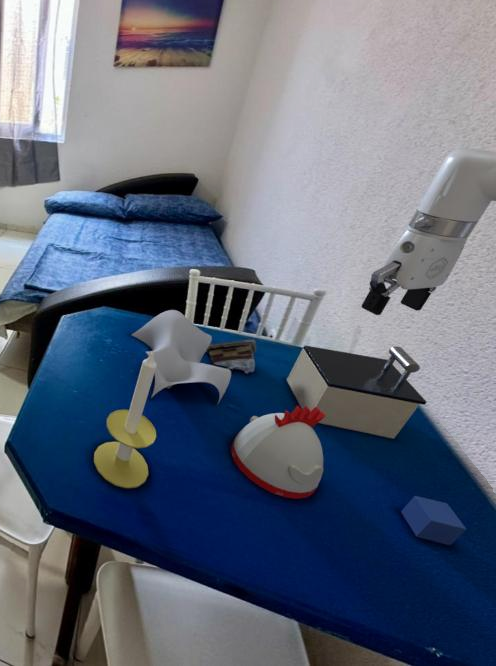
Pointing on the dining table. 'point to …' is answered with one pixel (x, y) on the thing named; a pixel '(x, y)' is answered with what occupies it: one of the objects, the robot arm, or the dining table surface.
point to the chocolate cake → (234, 354)
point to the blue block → (433, 520)
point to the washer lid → (367, 373)
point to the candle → (129, 437)
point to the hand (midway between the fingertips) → (390, 309)
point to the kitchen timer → (282, 452)
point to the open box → (347, 403)
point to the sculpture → (180, 352)
